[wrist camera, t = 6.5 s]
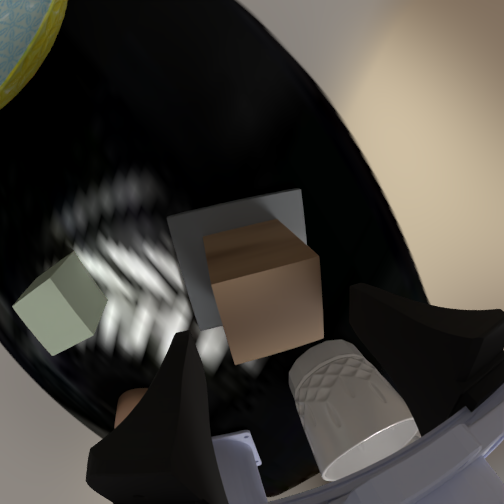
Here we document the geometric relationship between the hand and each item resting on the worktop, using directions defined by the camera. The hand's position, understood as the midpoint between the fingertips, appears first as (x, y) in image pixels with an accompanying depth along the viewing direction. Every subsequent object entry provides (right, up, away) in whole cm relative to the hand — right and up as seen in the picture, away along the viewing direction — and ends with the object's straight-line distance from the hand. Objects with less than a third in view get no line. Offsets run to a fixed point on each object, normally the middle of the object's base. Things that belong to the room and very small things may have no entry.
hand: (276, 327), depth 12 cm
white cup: (+5, -7, +12) cm, 15 cm away
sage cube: (-13, +1, +4) cm, 14 cm away
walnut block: (-1, +3, +6) cm, 6 cm away
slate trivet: (-1, +3, +6) cm, 7 cm away
